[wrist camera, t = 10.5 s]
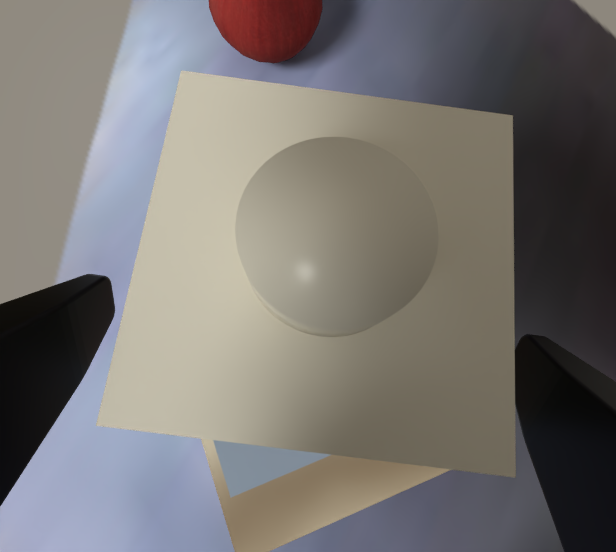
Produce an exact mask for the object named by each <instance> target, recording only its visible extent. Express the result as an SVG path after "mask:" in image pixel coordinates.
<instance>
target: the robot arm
mask: <svg viewBox="0 0 616 552" xmlns="http://www.w3.org/2000/svg"><path fill="white" fill-rule="evenodd" d="M114 313H115V305H114V298H113V292H112V285H111V281H110V279H109V278H108V277H107V276H102V275H94V274H86V275H83V276H80V277H77V278H74V279H72V280H69V281H66V282H63V283H60V284H57V285H54V286H51V287H48V288H46V289H43V290H40V291H37V292H34V293H31V294H28V295H25V296H23V297H20V298H17V299H14V300H11V301H8V302H5V303H3V304H0V506H1V505H2V503H3V502H4V500H5V498H6V497H7V495H8V494H9V492H10V491H11V489H12V488H13V486H14V485H15V483H16V481H17V480H18V478H19V477H20V475H21V474H22V472H23V471H24V469H25V468H26V466H27V464H28V463H29V461H30V460H31V458H32V457H33V455H34V454H35V452H36V451H37V449H38V447H39V446H40V444H41V443H42V441H43V440H44V438H45V437H46V435H47V434H48V432H49V430H50V429H51V427H52V426H53V424H54V423H55V421H56V420H57V418H58V417H59V415H60V413H61V412H62V410H63V409H64V407H65V406H66V404H67V403H68V401H69V400H70V398H71V396H72V395H73V393H74V392H75V390H76V389H77V387H78V386H79V384H80V382H81V381H82V379H83V377H84V376H85V374H86V372H87V370H88V368H89V366H90V364H91V362H92V360H93V358H94V356H95V354H96V352H97V350H98V348H99V346H100V344H101V342H102V340H103V338H104V336H105V334H106V332H107V330H108V328H109V326H110V324H111V322H112V320H113V317H114ZM515 405H516V409H517V413H518V418H519V422H520V426H521V429H522V433H523V437H524V440H525V443H526V446H527V449H528V452H529V454H530V457H531V460H532V463H533V466H534V468H535V471H536V474H537V477H538V480H539V482H540V485H541V488H542V491H543V493H544V496H545V499H546V502H547V505H548V507H549V510H550V513H551V516H552V519H553V521H554V524H555V527H556V530H557V533H558V535H559V538H560V541H561V544H562V546H563V549H564V552H616V382H615V381H613V380H612V379H610V378H609V377H607V376H606V375H604V374H603V373H601V372H599V371H598V370H596V369H595V368H593V367H592V366H590V365H589V364H587V363H585V362H584V361H582V360H581V359H579V358H578V357H576V356H575V355H573V354H572V353H570V352H568V351H567V350H565V349H564V348H562V347H561V346H559V345H558V344H556V343H554V342H553V341H551V340H550V339H548V338H547V337H544V336H538V335H530V334H527V335H524V336H523V337H522V338H521V339H520V341H519V343H518V345H517V347H516V349H515Z"/></svg>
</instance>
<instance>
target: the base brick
mask: <svg viewBox="0 0 616 552" xmlns="http://www.w3.org/2000/svg"><path fill="white" fill-rule="evenodd" d="M213 441H214V445H215V448H216V451H217V455H218V458H219V461H220V464H221V468H222V471H223V474H224V477H225V481H226V484H227V487H228V490H229V494H230V497H233V496H236V495H238V494H241V493H243V492H245V491H248V490H250V489H252V488H255V487H257V486H259V485H262V484H264V483H266V482H269V481H271V480H273V479H276V478H278V477H281V476H283V475H285V474H288V473H290V472H292V471H295V470H297V469H299V468H302V467H304V466H306V465H309V464H311V463H313V462H316V461H318V460H321V459H323V458H325V457H328V456H330V454H322V453H313V452H305V451H297V450H289V449H281V448H273V447H265V446H257V445H249V444H241V443H233V442H225V441H216V440H213Z"/></svg>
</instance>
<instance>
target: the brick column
mask: <svg viewBox="0 0 616 552" xmlns="http://www.w3.org/2000/svg"><path fill="white" fill-rule="evenodd" d="M96 426H103V427H111V428H119V429H127V430H136V431H144V432H152V433H160V434H168V435H176V436H184V437H192V438H200V439H208V440H216V441H225V442H233V443H241V444H249V445H257V446H265V447H273V448H281V449H289V450H297V451H305V452H313V453H322V454H330V455H338V456H346V457H354V458H362V459H370V460H378V461H386V462H394V463H402V464H411V465H419V466H427V467H435V468H443V469H451V470H459V471H467V472H475V473H483V474H491V475H500V476H508V477H516V461H515V332H514V203H513V115H506V114H498V113H491V112H484V111H476V110H469V109H461V108H454V107H447V106H439V105H432V104H425V103H417V102H410V101H402V100H395V99H388V98H380V97H373V96H365V95H358V94H351V93H343V92H336V91H328V90H321V89H314V88H306V87H299V86H292V85H284V84H277V83H269V82H262V81H255V80H247V79H240V78H232V77H225V76H218V75H210V74H203V73H195V72H188V71H181V74H180V78H179V82H178V86H177V90H176V95H175V99H174V103H173V107H172V111H171V115H170V120H169V124H168V128H167V132H166V136H165V140H164V145H163V149H162V153H161V157H160V161H159V165H158V169H157V174H156V178H155V182H154V186H153V190H152V194H151V199H150V203H149V207H148V211H147V215H146V219H145V224H144V228H143V232H142V236H141V240H140V244H139V249H138V253H137V257H136V261H135V265H134V269H133V273H132V278H131V282H130V286H129V290H128V294H127V298H126V303H125V307H124V311H123V315H122V319H121V323H120V328H119V332H118V336H117V340H116V344H115V348H114V352H113V357H112V361H111V365H110V369H109V373H108V377H107V382H106V386H105V390H104V394H103V398H102V402H101V407H100V411H99V415H98V419H97V423H96Z"/></svg>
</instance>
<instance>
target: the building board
mask: <svg viewBox="0 0 616 552" xmlns="http://www.w3.org/2000/svg"><path fill="white" fill-rule="evenodd" d="M201 440H202V444H203V447H204V450H205V454H206V457H207V460H208V464H209V467H210V470H211V474H212V477H213V480H214V484H215V487H216V490H217V494H218V497H219V500H220V504H221V507H222V510H223V514H224V517H225V520H226V524H227V527H228V530H229V534H230V537H231V540H232V544H233V547H234V550H235V552H269V551H271V550H273V549H275V548H277V547H280V546H282V545H284V544H286V543H289V542H291V541H293V540H295V539H298V538H300V537H302V536H304V535H306V534H309V533H311V532H313V531H315V530H318V529H320V528H322V527H324V526H327V525H329V524H331V523H333V522H335V521H338V520H340V519H342V518H344V517H347V516H349V515H351V514H353V513H355V512H358V511H360V510H362V509H364V508H367V507H369V506H371V505H373V504H376V503H378V502H380V501H382V500H384V499H387V498H389V497H391V496H393V495H396V494H398V493H400V492H402V491H405V490H407V489H409V488H411V487H413V486H416V485H418V484H420V483H422V482H425V481H427V480H429V479H431V478H433V477H436V476H438V475H440V474H442V473H445V472H447V471H449V470H451V469H443V468H435V467H427V466H419V465H411V464H402V463H394V462H386V461H378V460H370V459H362V458H354V457H346V456H338V455H330V456H328V457H325V458H323V459H321V460H318V461H316V462H313V463H311V464H309V465H306V466H304V467H302V468H299V469H297V470H295V471H292V472H290V473H288V474H285V475H283V476H281V477H278V478H276V479H273V480H271V481H269V482H266V483H264V484H262V485H259V486H257V487H255V488H252V489H250V490H248V491H245V492H243V493H241V494H238V495H236V496H233V497H230V494H229V490H228V487H227V484H226V481H225V477H224V474H223V471H222V468H221V464H220V461H219V458H218V455H217V451H216V448H215V445H214V441H213V440H208V439H201Z"/></svg>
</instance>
